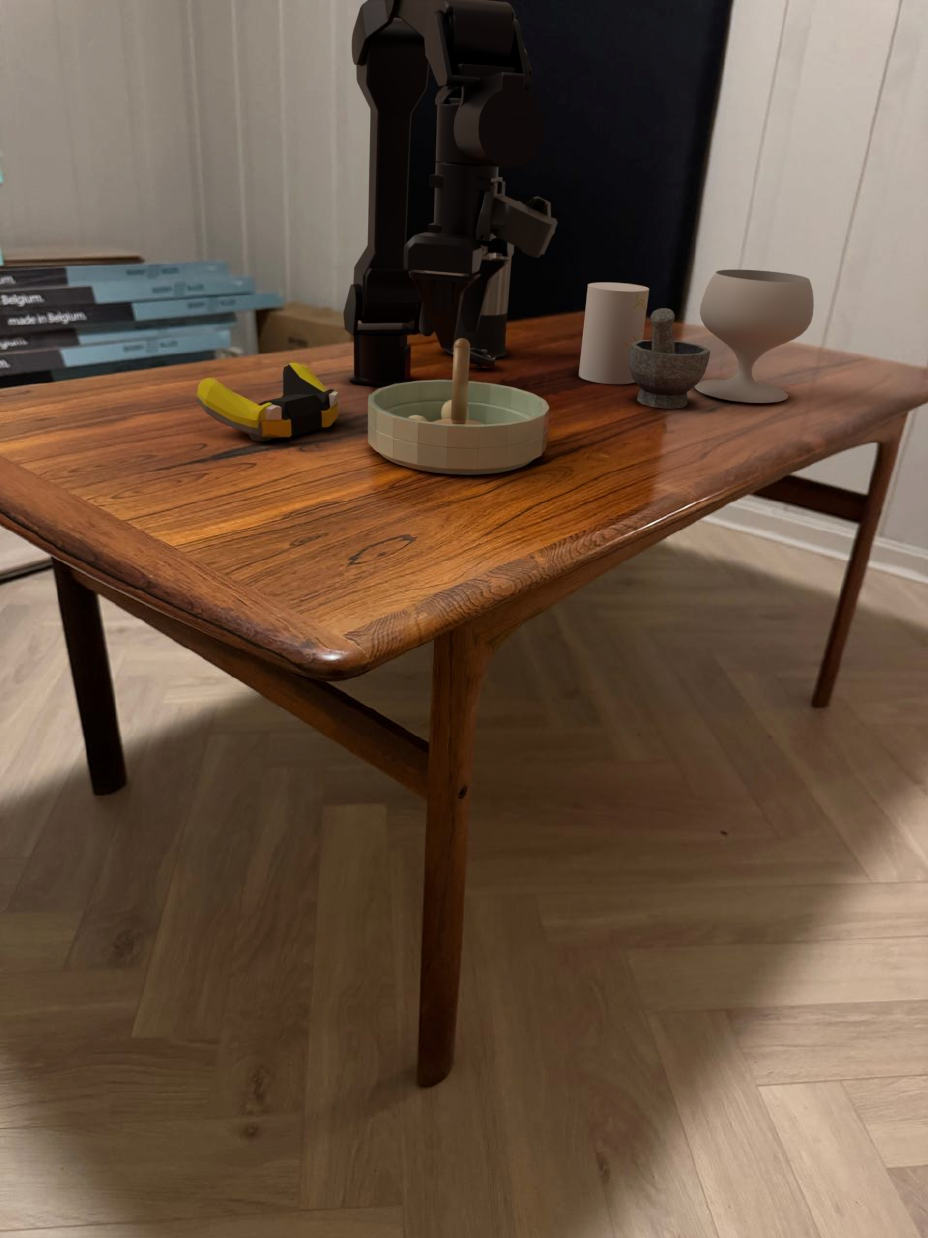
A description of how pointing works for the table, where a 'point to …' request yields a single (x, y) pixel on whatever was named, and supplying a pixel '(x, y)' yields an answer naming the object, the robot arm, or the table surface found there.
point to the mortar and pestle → (666, 364)
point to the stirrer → (460, 385)
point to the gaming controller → (273, 406)
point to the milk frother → (483, 321)
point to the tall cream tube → (611, 331)
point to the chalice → (753, 325)
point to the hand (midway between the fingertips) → (459, 339)
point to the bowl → (457, 427)
